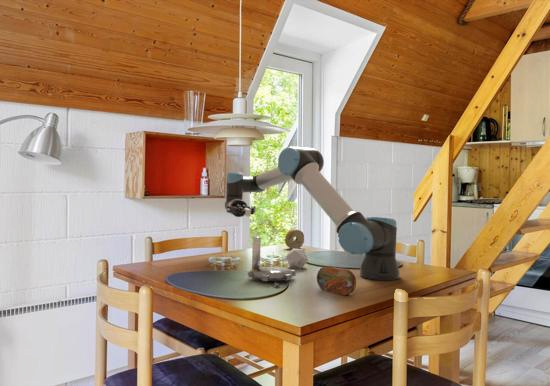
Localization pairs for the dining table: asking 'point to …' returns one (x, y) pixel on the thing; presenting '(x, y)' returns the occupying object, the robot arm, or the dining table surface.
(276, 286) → the timing pointer
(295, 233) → the stone disc
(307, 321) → the dining table surface
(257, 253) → the sprocket
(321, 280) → the tin
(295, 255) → the die
